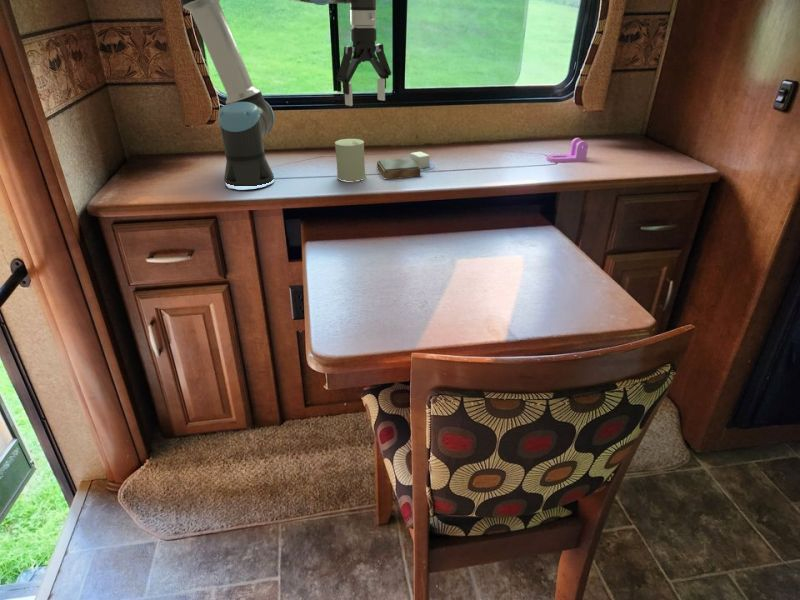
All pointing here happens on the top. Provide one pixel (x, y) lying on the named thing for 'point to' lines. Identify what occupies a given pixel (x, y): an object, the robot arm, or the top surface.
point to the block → (420, 159)
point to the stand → (398, 168)
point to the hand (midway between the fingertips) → (365, 102)
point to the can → (350, 159)
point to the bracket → (571, 153)
